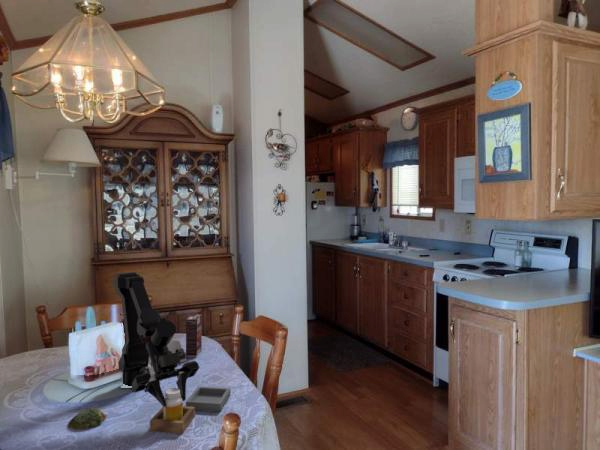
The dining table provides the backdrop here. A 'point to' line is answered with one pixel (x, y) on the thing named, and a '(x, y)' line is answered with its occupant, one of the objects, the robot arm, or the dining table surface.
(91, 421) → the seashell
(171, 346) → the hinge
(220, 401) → the charcoal tray
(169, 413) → the supplement bottle
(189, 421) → the walnut collar
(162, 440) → the dining table surface
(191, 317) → the supplement box
